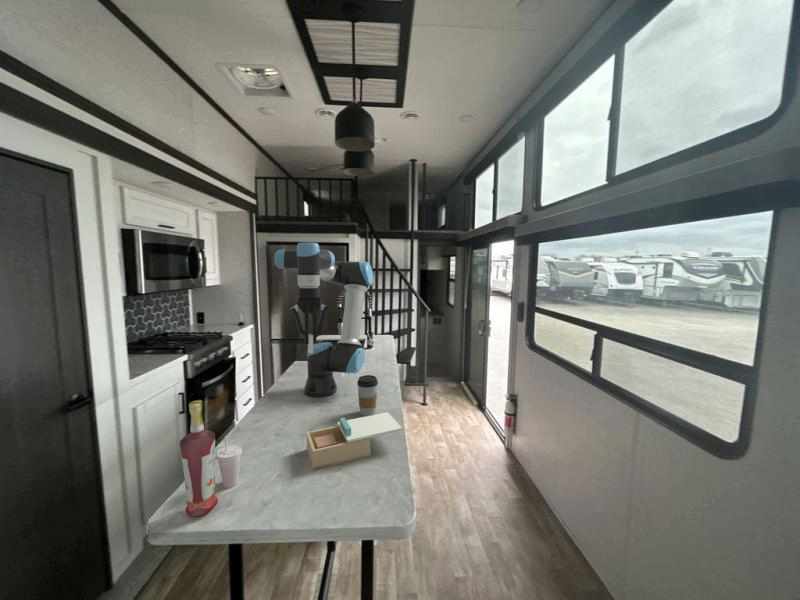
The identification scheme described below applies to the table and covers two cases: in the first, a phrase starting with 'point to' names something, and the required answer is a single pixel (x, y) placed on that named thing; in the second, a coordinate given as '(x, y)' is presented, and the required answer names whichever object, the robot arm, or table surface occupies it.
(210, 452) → the liquor
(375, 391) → the coffee cup
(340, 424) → the lid
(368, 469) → the table surface
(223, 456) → the smoothie
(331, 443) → the box
